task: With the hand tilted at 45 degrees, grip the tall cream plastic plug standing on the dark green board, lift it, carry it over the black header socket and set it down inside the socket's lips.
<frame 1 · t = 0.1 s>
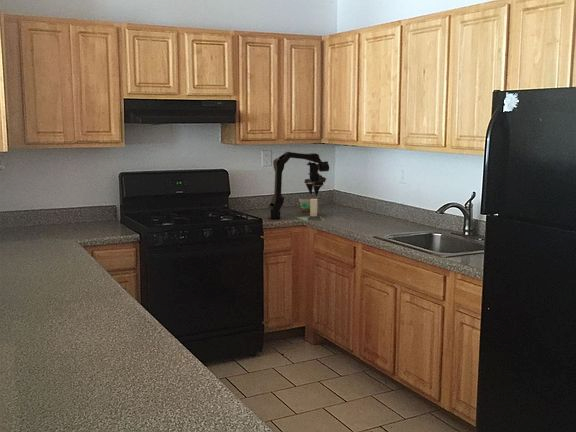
hand: (313, 194, 444), 15 cm above the worktop, tool pointing down, fingers open, 9 cm apart
board: (314, 220, 431), on the worktop
food container: (306, 213, 462), on the worktop
plug: (313, 217, 438), point 1 cm above the worktop, touching board
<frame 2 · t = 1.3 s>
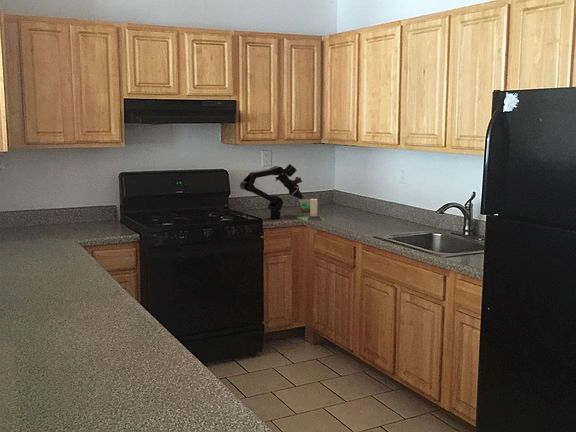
hand: (302, 198, 437), 13 cm above the worktop, tool tilted 45°, fingers open, 9 cm apart
nothing on the worktop moved.
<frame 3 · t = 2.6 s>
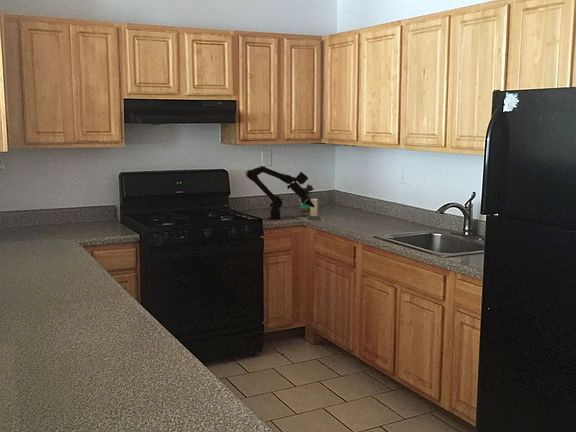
hand: (314, 206, 437), 8 cm above the worktop, tool tilted 45°, fingers open, 9 cm apart
nothing on the worktop moved.
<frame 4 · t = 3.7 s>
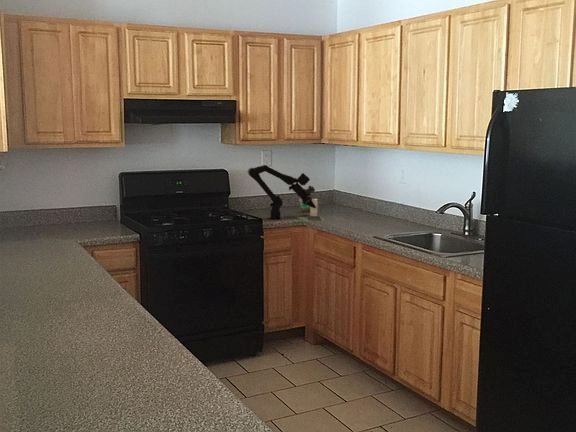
hand: (315, 207, 437), 7 cm above the worktop, tool tilted 45°, fingers closed on plug, 4 cm apart
plug: (313, 217, 438), point 1 cm above the worktop, touching board, gripper
everything else where it was.
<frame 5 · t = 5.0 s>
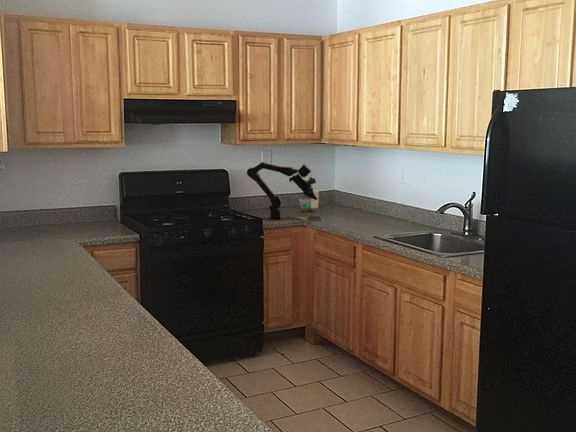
hand: (316, 199, 432), 14 cm above the worktop, tool tilted 45°, fingers closed on plug, 4 cm apart
plug: (314, 209, 433), point 7 cm above the worktop, touching gripper
everything else where it was.
when the fingers open (9 cm above the worktop, at t = 6.7 s): plug drops 1 cm, resting on board.
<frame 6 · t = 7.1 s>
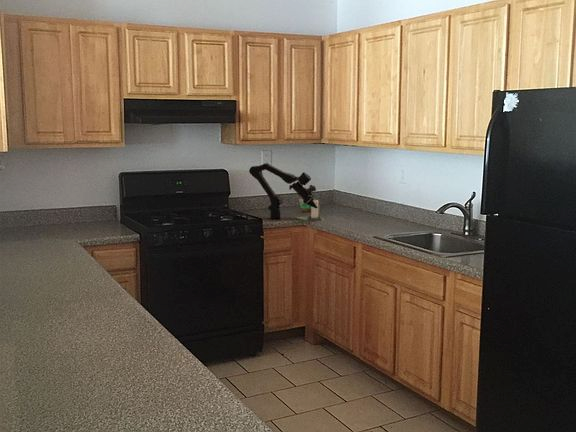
hand: (316, 206, 429), 9 cm above the worktop, tool tilted 45°, fingers open, 9 cm apart
plug: (314, 219, 431), point 1 cm above the worktop, touching board
everything else where it was.
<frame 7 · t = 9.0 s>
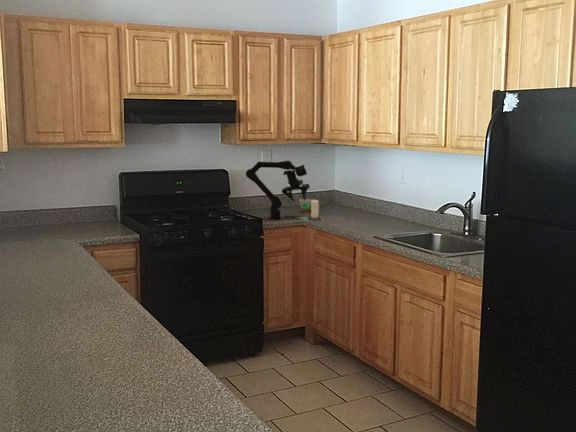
hand: (299, 200, 437), 12 cm above the worktop, tool tilted 20°, fingers open, 9 cm apart
nothing on the worktop moved.
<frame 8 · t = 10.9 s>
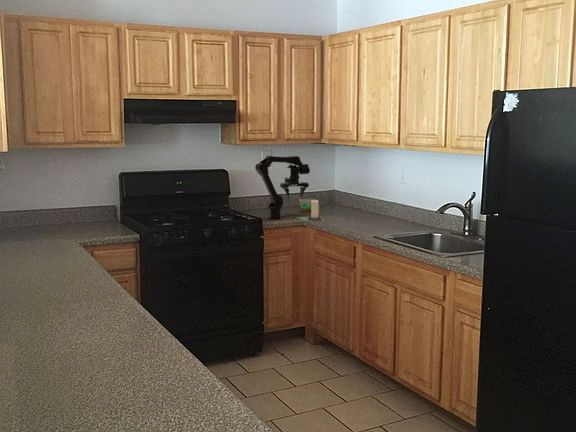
hand: (294, 197, 442), 13 cm above the worktop, tool pointing down, fingers open, 9 cm apart
nothing on the worktop moved.
at the end: plug 0.0 cm off-centre on the board, point 0.8 cm above the board's base; plug tilted 0°; the gripper is holding nothing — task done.
